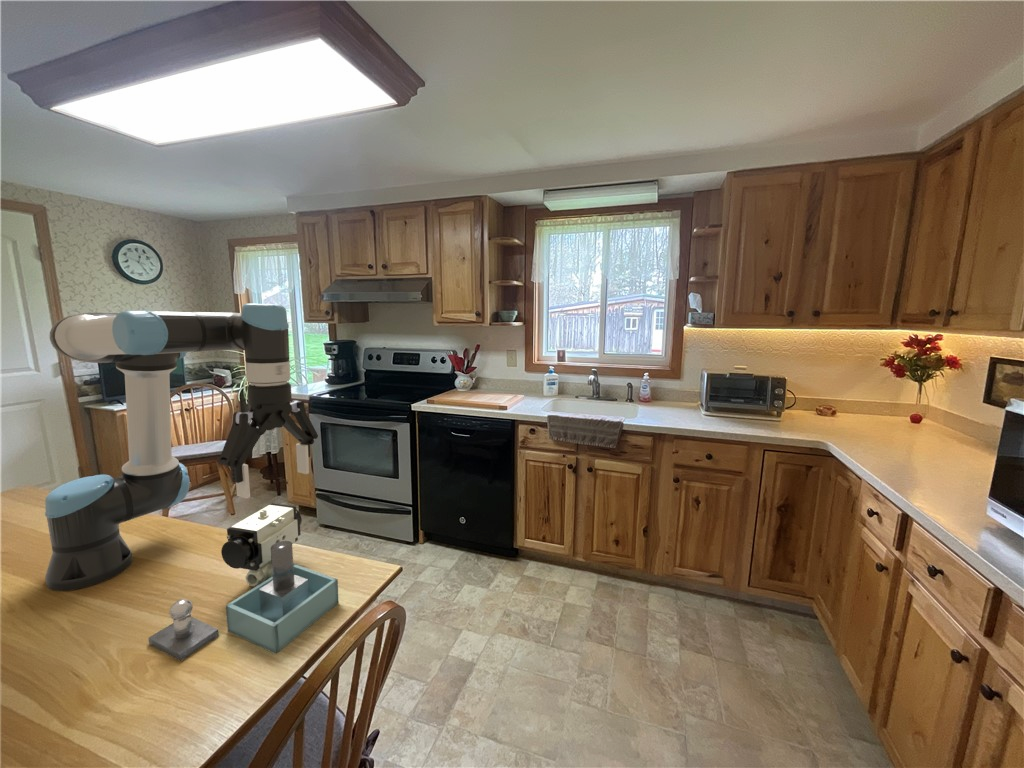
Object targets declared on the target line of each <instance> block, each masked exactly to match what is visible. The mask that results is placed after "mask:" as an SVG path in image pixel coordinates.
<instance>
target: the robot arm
mask: <svg viewBox="0 0 1024 768" xmlns="http://www.w3.org/2000/svg"><path fill="white" fill-rule="evenodd" d="M287 315H288V314H287V309H286V307H285V306H283V305H281V304H273V303H272V304H271V303H244V304H243V305H242V307H241V312H234V311H219V312H216V311H215V312H213V311H212V312H210V311H167V310H166V311H165V310H147V309H136V310H122V311H119V312H84V313H77V314H72V315H68V316H66V317H63V318H61V319H59V320H57V322H55V323H54V324H53V326H52V327H51V329H50V331H49V341H50V344H51V345H52V347H53V349H55V351H57V352H58V353H59V354H60V355H62V356H64V357H66V358H68V359H71V360H74V361H79V362H83V363H95V364H108V363H110V364H111V363H115V368H116V370H118V371H120V372H122V373H123V374H124V385H125V403H126V404H125V407H126V424H127V425H126V426H127V442H128V444H127V446H128V461H127V462H125V463H123V465H122V466H121V476H120V475H119V476H117V477H113V476H111V475H109V474H96V475H93V476H91V475H90V476H83V477H81V478H76V479H74V480H70V481H69V482H65V483H63V484H61V485H59V486H57V487H56V488H54V489H53V490H52V491H50V492H49V493H48V494H47V496H46V497H45V502H44V503H45V505H44V506H45V512H44V516H45V517H46V520H47V526H48V533H49V539H50V544H51V550H52V553H51V557H50V560H49V562H48V565H47V566H48V567H47V569H46V572H45V578H44V579H45V586H46V589H49V591H50V590H51V591H55V592H66V591H69V592H70V591H73V590H80V589H84V588H88V587H91V586H95V585H98V584H101V583H102V582H105V581H108V580H110V579H112V578H115V577H116V576H118V575H120V574H121V573H123V572H125V571H126V570H127V569H128V568H129V567H130V566H131V565H132V563H133V560H134V559H133V553H132V550H131V549H130V547H129V546H128V544H127V542H126V541H125V539H124V538H123V537H122V535H121V533H120V524H122V523H125V522H128V521H130V520H131V521H132V520H135V519H138V518H141V517H143V516H146V515H148V514H149V515H150V514H153V513H155V512H158V511H162V510H163V511H164V510H167V509H168V508H170V507H173V506H175V505H178V504H180V503H181V502H183V501H184V500H185V499H186V498H187V495H188V494H189V491H190V482H191V481H190V475H189V471H188V469H187V467H186V466H185V465H184V464H183V463H182V462H179V459H178V458H176V457H174V456H173V455H172V453H173V452H172V425H171V424H172V423H171V417H172V415H171V386H170V385H171V384H170V383H171V382H170V381H171V380H170V377H171V375H170V374H171V372H173V371H174V370H176V369H177V367H178V364H177V363H178V361H177V360H181V359H183V358H184V357H186V356H187V353H192V352H194V353H196V352H215V351H216V352H218V351H244V359H245V377H246V378H245V380H246V381H245V382H247V383H249V384H248V385H247V386H246V390H247V391H246V392H247V402H248V404H249V406H250V408H249V411H246V412H239V411H235V412H233V415H232V425H231V428H230V431H229V432H228V435H227V438H226V441H225V443H224V446H223V449H222V451H221V453H220V456H219V458H218V464H219V465H222V466H224V467H225V466H226V467H230V477H231V481H232V483H235V489H236V496H237V497H239V498H243V499H247V500H248V499H249V498H251V491H250V490H251V489H250V488H251V487H250V478H249V477H250V474H249V464H246V463H245V462H246V460H247V459H248V457H249V456H250V454H251V452H252V451H253V449H254V447H255V446H256V444H257V443H258V441H259V439H260V437H261V436H262V435H264V434H265V433H266V432H267V431H272V430H274V429H277V428H278V429H280V428H282V427H283V428H284V429H286V430H287V431H288V432H289V433H290V435H292V436H293V437H294V438H295V439H296V440H297V442H300V443H296V444H295V451H296V470H297V473H299V474H303V475H308V474H310V463H309V462H310V461H309V458H311V445H314V443H315V440H316V439H318V436H319V435H318V433H317V431H316V429H315V426H314V424H313V423H312V421H311V419H310V417H309V416H308V413H307V412H306V409H305V408H306V407H305V403H304V402H303V401H302V400H296V399H293V400H292V396H293V395H292V385H291V383H290V382H289V381H290V380H291V366H290V365H291V363H290V339H289V337H290V335H289V323H288V318H287V317H288V316H287ZM290 401H291V402H290ZM291 412H292V414H293V417H294V419H295V420H296V422H297V423H298V424H296V422H295V420H294V419H293V418H292V417H291V416H290V414H291ZM249 423H250V424H249ZM298 425H299V426H298Z"/></svg>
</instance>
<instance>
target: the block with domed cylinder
mask: <svg viewBox="0 0 1024 768" xmlns="http://www.w3.org/2000/svg"><path fill="white" fill-rule="evenodd" d="M293 552H294V551H293V544H292V542H290V541H281V542H278V543H275V544H274V545H272V546H271V561H272V576H273V581H271V582H270V583H268V584H266V585H265V586H263V587H262V588H260V589H259V598H260V612H261V617H263V618H265V619H267V620H270V621H272V622H274V623H275V622H276V621H278V620H279V619H280V618H282V617H283V616H284V615H286V614H287V613H289V612H290V611H291V610H293V609H294V608H295V607H297V606H298V605H299V604H301V603H302V602H303V601H305V600H306V599H308V598H309V589H308V579H305V578H302V577H300V576H297V575H294V567H293V564H294V553H293Z"/></svg>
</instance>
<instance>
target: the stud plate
mask: <svg viewBox="0 0 1024 768" xmlns="http://www.w3.org/2000/svg"><path fill="white" fill-rule="evenodd" d="M193 605H194V604H193V602H192V601H191V600H190V599H188V598H182V599H179V600H177V601H175V602H174V603H173V604H172V605H171V606H170V609H169V616H170V618H171V619H173V620H172V622H173V623H171V624H168V625H167V626H165V627H164V628H162V629H160V630H159V631H157V632H156V633H153V634H152V635H150V636H149V637H148V644H149V645H150V646H152V647H154V648H155V649H157V650H159V651H160V652H163V653H165V654H166V655H168V656H170V657H172V658H174V659H176V660H178V661H179V662H182V661H184V660H185V659H186V658H188V657H190V656H191V655H193V654H194V653H196V652H197V651H198V650H200V649H202V648H203V647H204V646H206V645H207V644H209V643H210V642H211V641H214V640H215V639H216V638H218V637H219V636H220V633H219V628H217V627H215V626H212V625H210V624H208V623H206V622H204V621H202V620H200V619H198V618H195V617H194V616H192V614H191V612H193V611H192V610H193V607H194V606H193Z"/></svg>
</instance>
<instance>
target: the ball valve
mask: <svg viewBox="0 0 1024 768" xmlns="http://www.w3.org/2000/svg"><path fill="white" fill-rule="evenodd" d="M302 521H303V519H302V515H301V513H300V512H299V510H297V507H296V506H294V505H286V504H282V503H281V504H280V503H273V502H272V503H270V504H269V505H266V506H265V507H263V508H262V509H259V510H258V511H256V512H254V513H253V514H250V515H249V516H247V517H246V518H244V519H242V520H240V521H238V522H236V523H235V524H233V525H232V526H230V527H228V528H227V529H226V532H227V534H226V539H227V541H225V542H224V543H223V545H222V547H221V552H220V553H221V557H222V559H223V561H224V563H225V564H226V565H227V566H229V567H230V568H232V569H244V570H247V571H248V570H249V571H248V572H247V573H246V575H245V580H246V582H247V584H248V585H249V586H251V587H256V586H258V585H259V584H261V583H263V582H264V581H266V580H268V579H269V578H271V577H272V561H271V546H272V545H274V544H275V543H278V542H281V541H290V542H292V545H293V544H295V543H296V542H297V541H298V539H299V537H300V536H301V525H302Z"/></svg>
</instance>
